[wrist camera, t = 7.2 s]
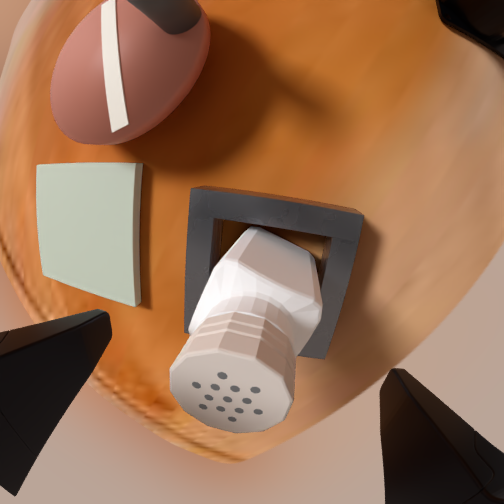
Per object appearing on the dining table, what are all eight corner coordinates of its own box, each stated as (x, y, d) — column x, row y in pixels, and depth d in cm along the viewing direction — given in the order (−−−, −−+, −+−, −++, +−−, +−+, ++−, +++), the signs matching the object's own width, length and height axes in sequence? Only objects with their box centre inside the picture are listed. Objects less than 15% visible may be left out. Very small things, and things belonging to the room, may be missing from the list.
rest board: (142, 163, 14) (135, 163, 14) (141, 301, 17) (135, 307, 16) (44, 164, 15) (36, 164, 15) (49, 271, 18) (43, 275, 17)
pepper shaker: (221, 281, 16) (142, 401, 7) (250, 219, 14) (175, 302, 5) (284, 311, 16) (263, 454, 7) (318, 253, 14) (343, 379, 5)
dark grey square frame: (354, 209, 13) (364, 215, 11) (322, 339, 16) (324, 359, 14) (204, 185, 14) (190, 188, 12) (195, 315, 17) (184, 332, 15)
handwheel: (230, 102, 11) (185, 61, 6) (72, 171, 13) (3, 180, 8) (193, -31, 8) (158, -80, 3) (62, 44, 10) (10, 28, 5)
